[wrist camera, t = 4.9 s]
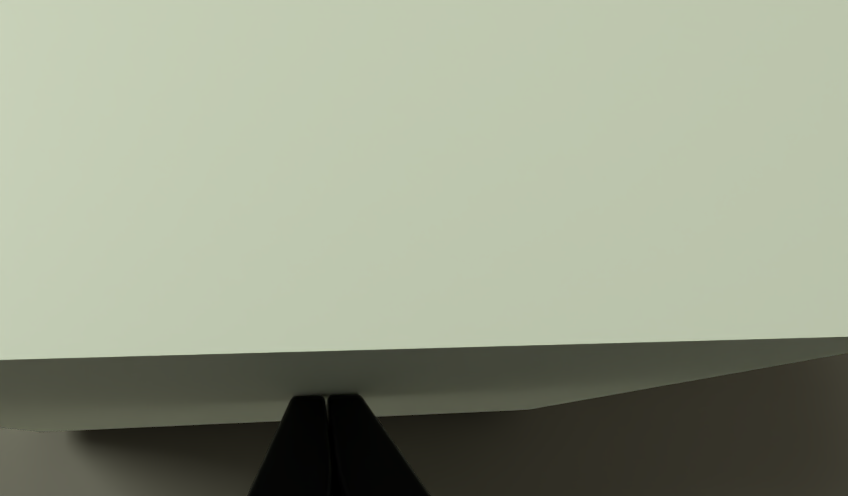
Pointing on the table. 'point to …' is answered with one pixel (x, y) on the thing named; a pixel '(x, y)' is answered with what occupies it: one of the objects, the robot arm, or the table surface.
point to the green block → (411, 202)
